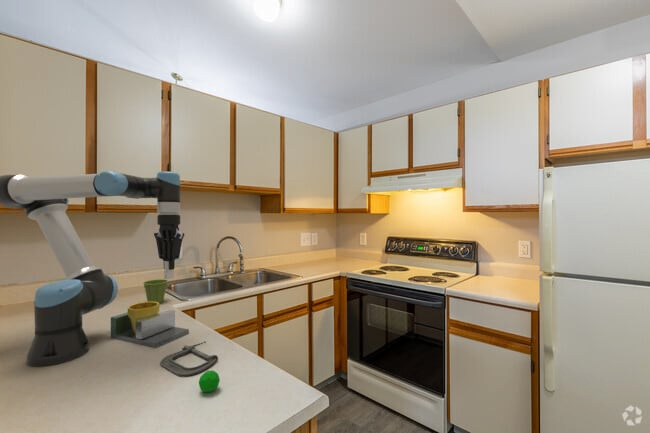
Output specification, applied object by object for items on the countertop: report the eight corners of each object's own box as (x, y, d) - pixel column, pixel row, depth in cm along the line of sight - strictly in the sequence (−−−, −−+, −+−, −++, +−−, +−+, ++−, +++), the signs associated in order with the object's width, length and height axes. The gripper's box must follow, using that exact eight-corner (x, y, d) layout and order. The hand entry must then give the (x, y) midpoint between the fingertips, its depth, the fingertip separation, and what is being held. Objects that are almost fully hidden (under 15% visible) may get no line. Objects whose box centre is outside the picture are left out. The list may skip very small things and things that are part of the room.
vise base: (156, 347, 104) (156, 325, 104) (110, 337, 113) (110, 317, 113) (188, 333, 116) (188, 313, 116) (145, 325, 126) (145, 307, 126)
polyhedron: (197, 389, 78) (196, 370, 78) (216, 383, 81) (216, 365, 81) (201, 398, 74) (201, 379, 74) (221, 392, 77) (221, 373, 77)
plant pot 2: (144, 337, 109) (144, 309, 109) (120, 334, 111) (120, 308, 111) (165, 326, 119) (165, 302, 119) (143, 325, 121) (143, 300, 122)
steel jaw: (141, 339, 106) (141, 322, 106) (135, 338, 108) (135, 321, 108) (175, 326, 119) (175, 310, 119) (169, 325, 120) (169, 310, 120)
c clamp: (152, 360, 96) (152, 351, 96) (205, 343, 108) (205, 336, 108) (178, 383, 82) (178, 373, 82) (235, 361, 95) (235, 352, 95)
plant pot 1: (139, 307, 152) (139, 284, 152) (147, 300, 163) (147, 279, 163) (164, 305, 154) (164, 283, 154) (171, 299, 166) (170, 278, 166)
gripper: (190, 214, 112) (190, 277, 112) (165, 214, 117) (165, 275, 117) (173, 213, 105) (173, 281, 105) (147, 214, 110) (147, 279, 110)
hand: (169, 278), depth 111 cm, fingers closed
